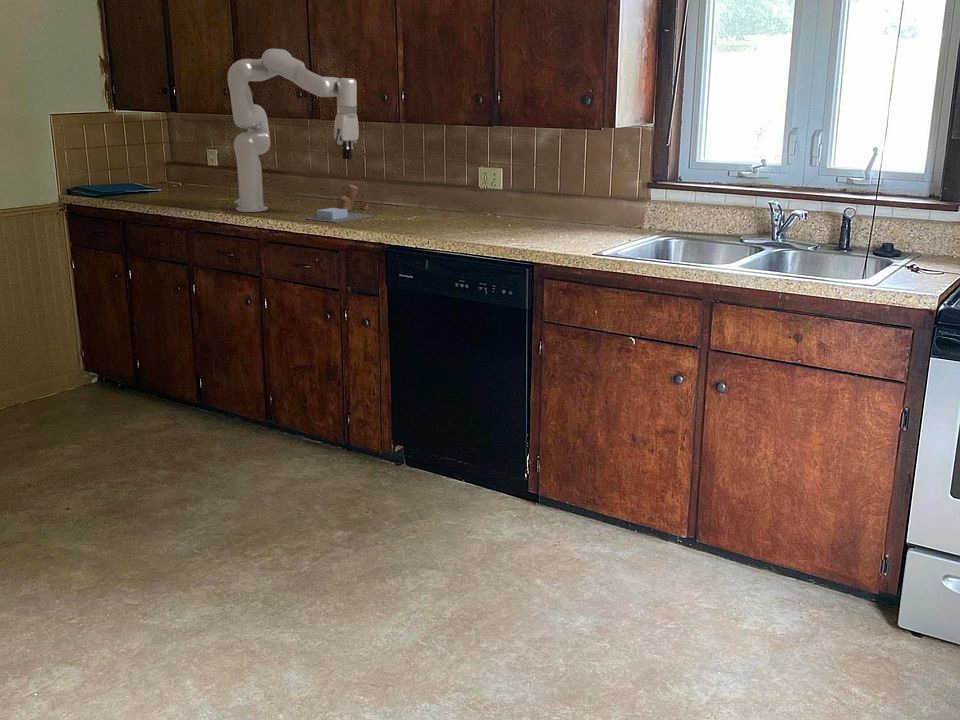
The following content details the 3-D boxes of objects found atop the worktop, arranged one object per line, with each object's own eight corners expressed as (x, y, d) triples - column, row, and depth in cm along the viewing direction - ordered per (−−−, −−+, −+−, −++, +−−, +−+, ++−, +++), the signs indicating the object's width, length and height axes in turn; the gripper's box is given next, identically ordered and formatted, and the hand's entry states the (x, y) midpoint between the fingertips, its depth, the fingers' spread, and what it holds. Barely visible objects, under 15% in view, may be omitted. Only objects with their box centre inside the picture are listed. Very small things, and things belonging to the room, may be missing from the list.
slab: (332, 215, 379) (316, 218, 372) (332, 207, 378) (316, 210, 371) (347, 217, 375) (332, 219, 368) (347, 209, 374) (332, 212, 367)
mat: (305, 219, 371) (305, 218, 370) (342, 213, 388) (342, 212, 388) (336, 223, 362) (336, 221, 362) (372, 216, 380) (372, 215, 380)
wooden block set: (343, 219, 388) (350, 197, 384) (326, 210, 391) (333, 187, 386) (367, 212, 404) (374, 191, 399) (351, 203, 406) (358, 181, 401)
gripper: (351, 110, 379) (352, 157, 384) (326, 110, 366) (327, 159, 372) (366, 111, 375) (366, 158, 380) (341, 111, 363) (342, 160, 368)
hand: (347, 158), depth 376 cm, fingers closed
